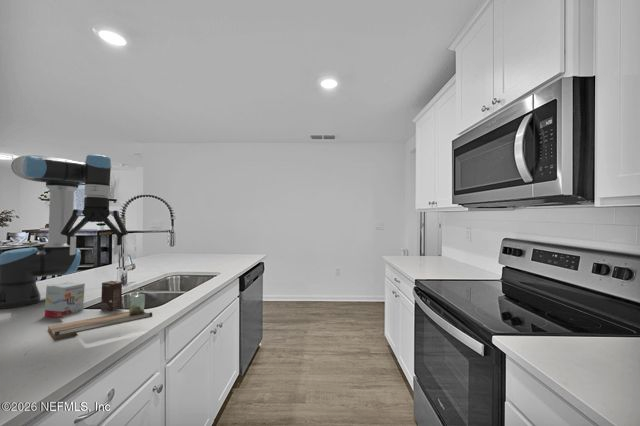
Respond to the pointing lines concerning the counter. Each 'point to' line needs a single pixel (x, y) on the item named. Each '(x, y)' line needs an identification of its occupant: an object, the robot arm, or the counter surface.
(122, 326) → the counter surface
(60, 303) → the ink box
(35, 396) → the counter surface
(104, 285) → the box
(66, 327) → the shelf board
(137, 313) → the green glass jar
